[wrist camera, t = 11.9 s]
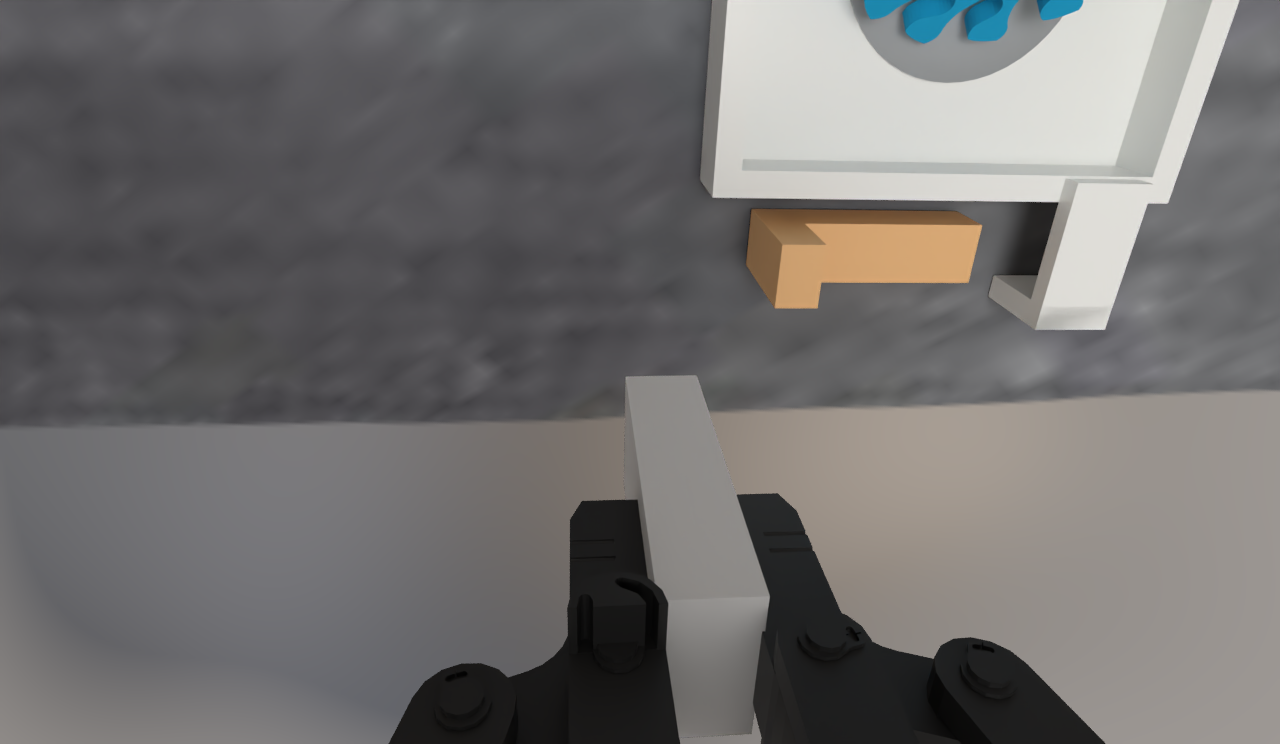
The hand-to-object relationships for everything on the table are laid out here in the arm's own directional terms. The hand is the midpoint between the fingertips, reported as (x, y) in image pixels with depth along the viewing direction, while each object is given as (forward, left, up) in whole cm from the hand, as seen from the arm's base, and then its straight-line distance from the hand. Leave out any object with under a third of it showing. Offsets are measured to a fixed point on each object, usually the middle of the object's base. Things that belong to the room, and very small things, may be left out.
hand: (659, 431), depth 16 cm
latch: (+10, 0, -16) cm, 19 cm away
